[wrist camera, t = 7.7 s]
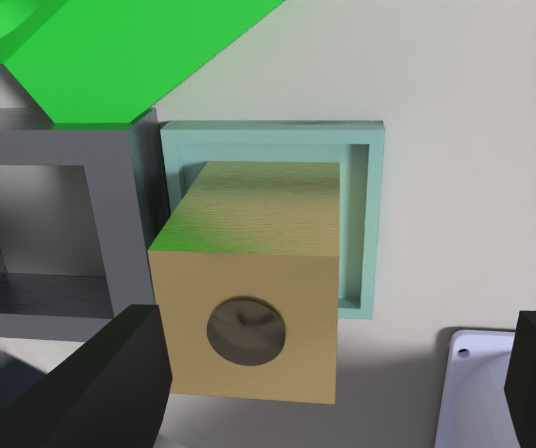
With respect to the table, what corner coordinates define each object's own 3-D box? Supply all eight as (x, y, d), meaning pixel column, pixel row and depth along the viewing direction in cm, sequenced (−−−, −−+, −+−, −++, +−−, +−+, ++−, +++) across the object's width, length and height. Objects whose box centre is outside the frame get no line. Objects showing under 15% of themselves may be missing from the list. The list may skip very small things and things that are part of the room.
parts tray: (370, 302, 22) (372, 319, 21) (190, 294, 23) (183, 310, 22) (382, 120, 19) (385, 130, 18) (169, 120, 20) (159, 129, 19)
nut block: (336, 276, 21) (334, 408, 15) (218, 272, 22) (168, 396, 16) (339, 162, 19) (339, 259, 13) (208, 161, 20) (145, 253, 13)
